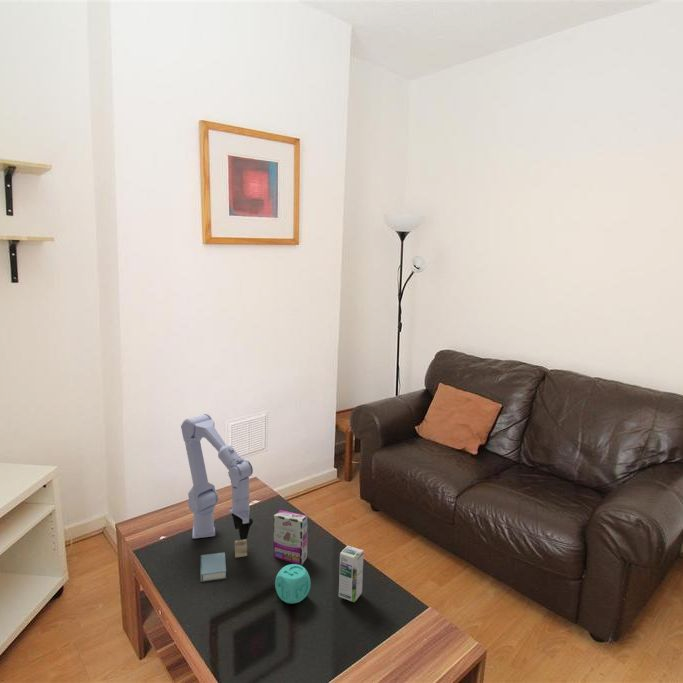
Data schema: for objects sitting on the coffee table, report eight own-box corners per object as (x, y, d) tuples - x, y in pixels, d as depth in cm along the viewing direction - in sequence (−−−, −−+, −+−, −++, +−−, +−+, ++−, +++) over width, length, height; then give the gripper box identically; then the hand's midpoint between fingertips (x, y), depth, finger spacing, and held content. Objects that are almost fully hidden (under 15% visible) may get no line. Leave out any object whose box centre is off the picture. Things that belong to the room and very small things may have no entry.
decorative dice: (274, 594, 150) (274, 570, 149) (294, 583, 155) (294, 560, 154) (290, 607, 144) (291, 582, 143) (310, 595, 150) (311, 571, 149)
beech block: (234, 554, 171) (234, 540, 171) (246, 552, 172) (246, 539, 172) (235, 560, 167) (235, 546, 167) (247, 558, 168) (247, 545, 168)
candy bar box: (307, 559, 169) (308, 515, 167) (301, 567, 164) (302, 521, 162) (279, 552, 173) (280, 508, 171) (272, 559, 168) (272, 515, 166)
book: (200, 562, 166) (200, 555, 165) (224, 559, 168) (224, 552, 168) (200, 582, 155) (200, 574, 155) (226, 578, 157) (226, 570, 157)
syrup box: (337, 597, 149) (339, 553, 148) (346, 586, 155) (347, 544, 153) (354, 603, 147) (355, 558, 145) (362, 592, 152) (364, 549, 150)
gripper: (224, 490, 172) (224, 526, 173) (234, 507, 159) (234, 546, 160) (244, 486, 175) (244, 522, 176) (255, 503, 162) (255, 541, 164)
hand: (240, 533), depth 169 cm, fingers open, 7 cm apart
